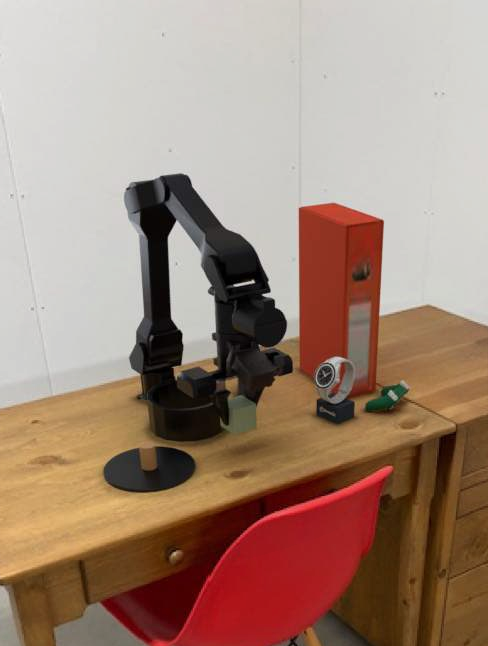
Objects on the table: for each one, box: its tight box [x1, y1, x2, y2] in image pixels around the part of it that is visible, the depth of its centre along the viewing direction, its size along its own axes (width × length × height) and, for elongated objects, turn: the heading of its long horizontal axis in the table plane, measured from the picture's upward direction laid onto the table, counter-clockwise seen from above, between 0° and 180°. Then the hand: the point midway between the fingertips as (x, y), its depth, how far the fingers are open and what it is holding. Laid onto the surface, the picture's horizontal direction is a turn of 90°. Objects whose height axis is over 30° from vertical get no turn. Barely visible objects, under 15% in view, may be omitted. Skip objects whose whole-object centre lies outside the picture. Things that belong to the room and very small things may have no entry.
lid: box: [102, 440, 196, 493], centre depth 128 cm, size 15×15×5 cm
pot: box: [146, 379, 226, 443], centre depth 141 cm, size 14×14×6 cm
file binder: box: [298, 202, 385, 399], centre depth 152 cm, size 8×17×32 cm, turn 26°
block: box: [220, 395, 258, 436], centre depth 130 cm, size 4×4×4 cm
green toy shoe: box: [364, 379, 410, 412], centre depth 149 cm, size 9×4×6 cm
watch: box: [313, 357, 356, 425], centre depth 143 cm, size 6×8×11 cm
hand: (238, 421), depth 131 cm, fingers closed on block, 4 cm apart
